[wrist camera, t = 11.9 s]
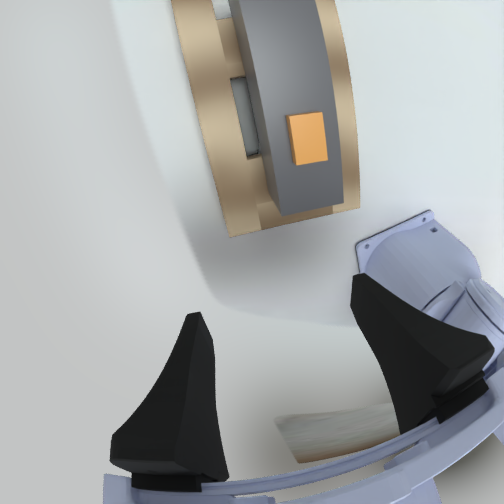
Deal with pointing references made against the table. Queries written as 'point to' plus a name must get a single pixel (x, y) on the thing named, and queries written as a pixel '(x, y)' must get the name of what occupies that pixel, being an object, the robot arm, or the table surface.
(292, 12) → the grey block
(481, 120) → the table surface
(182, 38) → the keyhole board
